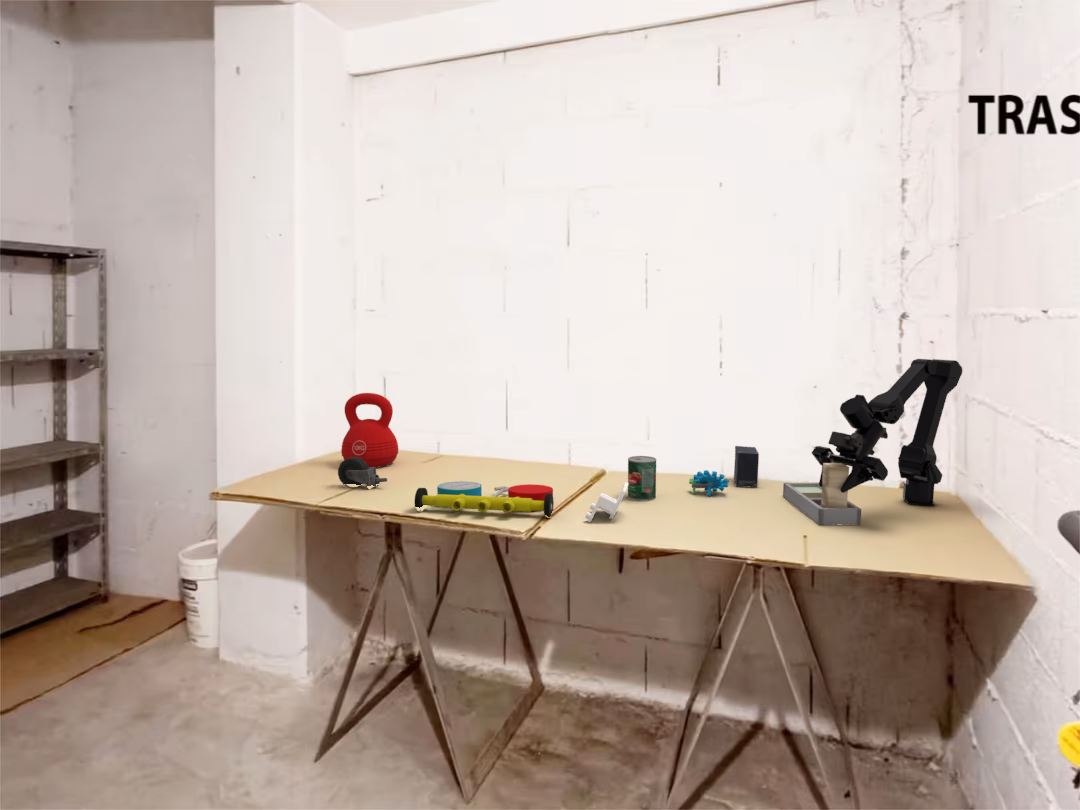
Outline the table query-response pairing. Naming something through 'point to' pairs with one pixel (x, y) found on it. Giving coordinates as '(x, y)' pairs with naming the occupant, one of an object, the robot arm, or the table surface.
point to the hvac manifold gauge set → (471, 497)
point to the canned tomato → (642, 478)
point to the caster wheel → (358, 473)
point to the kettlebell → (370, 432)
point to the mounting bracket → (607, 504)
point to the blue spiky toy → (708, 481)
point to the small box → (746, 466)
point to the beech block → (834, 485)
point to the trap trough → (819, 505)
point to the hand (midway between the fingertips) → (830, 488)
